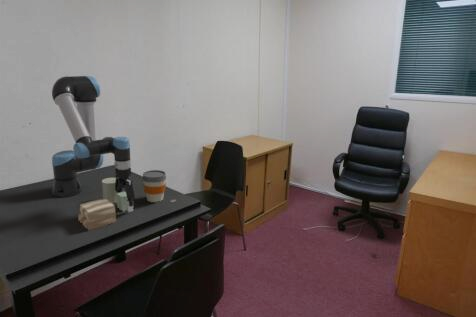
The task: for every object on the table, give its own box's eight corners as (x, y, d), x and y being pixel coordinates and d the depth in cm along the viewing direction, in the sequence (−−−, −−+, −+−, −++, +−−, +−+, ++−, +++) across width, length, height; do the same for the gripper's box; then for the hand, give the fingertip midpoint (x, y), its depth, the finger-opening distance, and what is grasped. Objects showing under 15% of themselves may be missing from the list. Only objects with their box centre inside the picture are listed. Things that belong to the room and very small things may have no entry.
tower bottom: (78, 221, 166) (77, 212, 165) (105, 214, 175) (104, 205, 173) (88, 231, 157) (87, 222, 156) (116, 223, 166) (115, 214, 164)
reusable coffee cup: (150, 193, 201) (149, 168, 197) (170, 196, 198) (170, 171, 194) (139, 201, 189) (137, 175, 185) (159, 205, 186) (159, 178, 182)
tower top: (80, 212, 165) (79, 204, 164) (105, 206, 173) (104, 197, 172) (89, 221, 157) (89, 212, 156) (115, 214, 165) (114, 205, 163)
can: (115, 204, 185) (113, 183, 182) (99, 202, 187) (97, 181, 183) (124, 197, 194) (122, 177, 190) (109, 195, 195) (107, 175, 192)
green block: (117, 207, 181) (116, 193, 179) (128, 204, 185) (127, 190, 183) (122, 211, 177) (121, 197, 175) (133, 208, 181) (132, 194, 179)
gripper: (106, 163, 180) (109, 202, 187) (126, 175, 164) (129, 217, 170) (119, 160, 185) (122, 199, 192) (141, 172, 169) (142, 213, 175)
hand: (125, 207), depth 181 cm, fingers open, 11 cm apart
